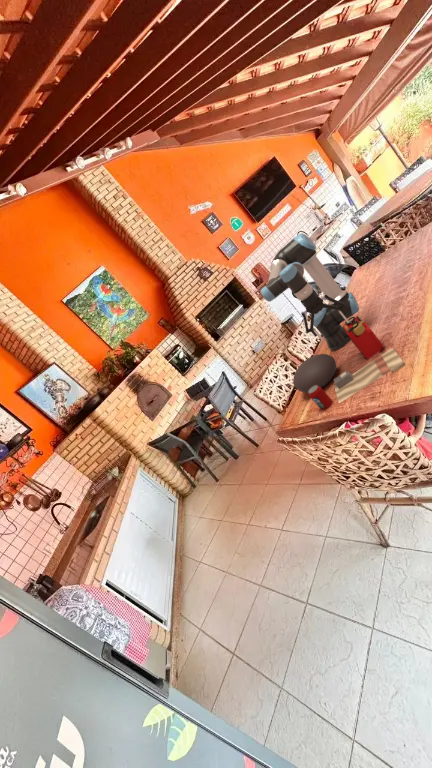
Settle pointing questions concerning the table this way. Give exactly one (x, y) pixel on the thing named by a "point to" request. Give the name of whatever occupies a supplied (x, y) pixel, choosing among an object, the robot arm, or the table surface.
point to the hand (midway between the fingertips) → (335, 330)
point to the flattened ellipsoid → (314, 372)
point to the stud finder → (343, 379)
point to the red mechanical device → (362, 337)
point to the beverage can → (320, 397)
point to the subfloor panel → (370, 374)
